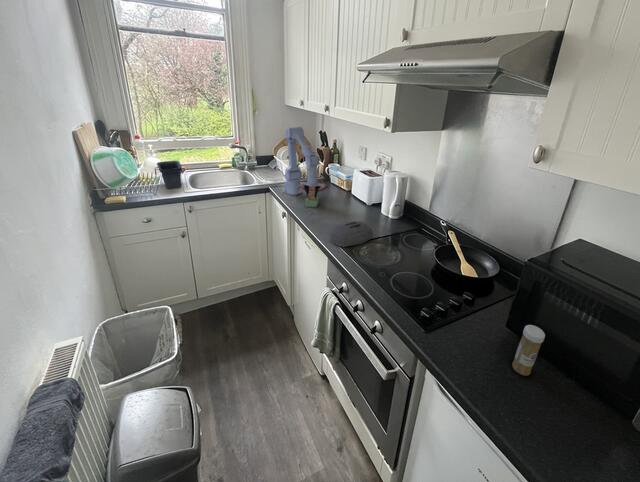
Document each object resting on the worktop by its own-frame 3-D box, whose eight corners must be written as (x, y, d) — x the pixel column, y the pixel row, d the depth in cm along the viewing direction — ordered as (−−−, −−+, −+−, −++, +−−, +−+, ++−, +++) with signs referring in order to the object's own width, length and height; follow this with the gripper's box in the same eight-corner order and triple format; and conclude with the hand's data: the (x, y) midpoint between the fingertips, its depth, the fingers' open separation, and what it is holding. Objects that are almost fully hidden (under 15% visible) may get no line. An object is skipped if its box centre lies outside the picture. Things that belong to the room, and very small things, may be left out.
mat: (298, 187, 212) (298, 186, 212) (308, 182, 224) (308, 181, 224) (317, 191, 206) (317, 191, 206) (327, 186, 218) (327, 185, 218)
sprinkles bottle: (523, 378, 78) (537, 339, 73) (507, 364, 82) (520, 326, 77) (534, 372, 80) (549, 334, 75) (519, 359, 84) (532, 322, 79)
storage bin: (186, 188, 198) (183, 167, 193) (159, 191, 190) (155, 170, 185) (181, 179, 214) (178, 160, 209) (156, 182, 206) (152, 162, 201)
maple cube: (308, 199, 180) (308, 193, 178) (309, 197, 183) (309, 191, 182) (314, 200, 179) (314, 193, 178) (315, 197, 183) (315, 191, 182)
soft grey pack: (357, 229, 154) (324, 237, 144) (359, 214, 151) (324, 222, 141) (376, 242, 143) (340, 252, 132) (377, 226, 140) (341, 235, 129)
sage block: (305, 206, 180) (305, 200, 178) (307, 202, 186) (307, 196, 185) (316, 207, 179) (316, 201, 178) (318, 203, 186) (318, 197, 184)
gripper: (298, 177, 173) (298, 198, 178) (323, 179, 172) (322, 200, 177) (301, 173, 180) (301, 194, 185) (325, 175, 179) (324, 196, 183)
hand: (311, 197), depth 181 cm, fingers closed on maple cube, 4 cm apart
